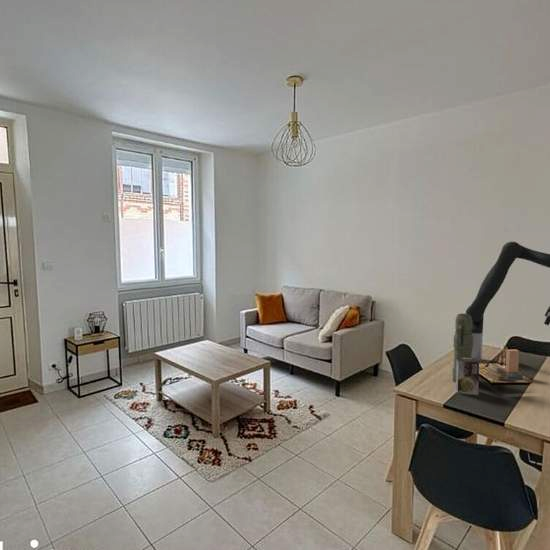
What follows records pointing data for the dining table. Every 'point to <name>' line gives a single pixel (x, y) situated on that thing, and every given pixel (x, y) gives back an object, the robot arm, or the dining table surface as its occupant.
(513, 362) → the board
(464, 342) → the thermos
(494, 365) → the offcut pile
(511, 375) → the rack
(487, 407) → the dining table surface
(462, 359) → the coffee box
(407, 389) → the dining table surface
